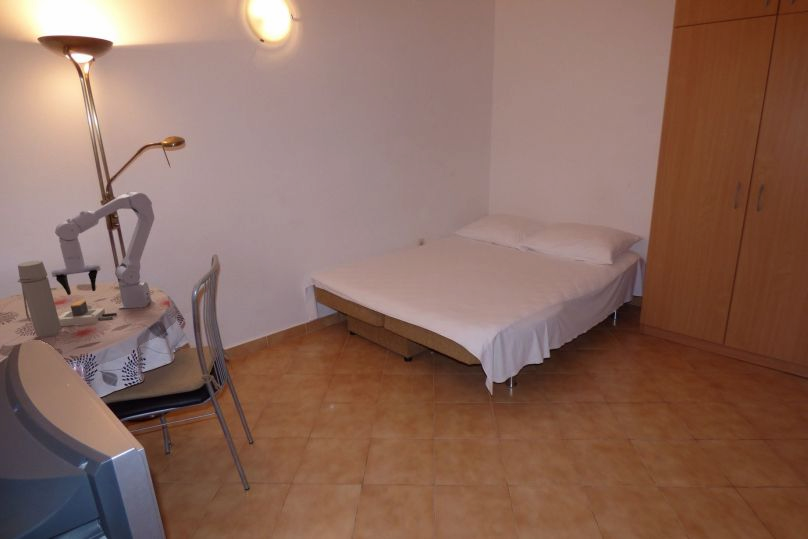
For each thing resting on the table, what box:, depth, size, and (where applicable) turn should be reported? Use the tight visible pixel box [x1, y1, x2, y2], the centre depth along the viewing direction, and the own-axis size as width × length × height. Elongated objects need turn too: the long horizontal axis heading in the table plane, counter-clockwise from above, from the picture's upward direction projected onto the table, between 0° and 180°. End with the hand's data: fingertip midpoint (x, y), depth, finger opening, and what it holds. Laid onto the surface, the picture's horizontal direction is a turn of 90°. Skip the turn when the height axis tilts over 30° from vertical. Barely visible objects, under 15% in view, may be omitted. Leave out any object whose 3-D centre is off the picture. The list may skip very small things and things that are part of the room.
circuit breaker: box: [58, 308, 106, 327], centre depth 175 cm, size 13×8×3 cm, turn 99°
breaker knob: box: [70, 300, 89, 316], centre depth 174 cm, size 3×4×4 cm, turn 9°
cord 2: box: [102, 312, 117, 317], centre depth 178 cm, size 5×1×1 cm, turn 99°
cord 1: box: [98, 316, 114, 321], centre depth 175 cm, size 5×1×1 cm, turn 99°
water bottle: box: [17, 260, 62, 339], centre depth 161 cm, size 9×8×25 cm
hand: (81, 292), depth 176 cm, fingers open, 7 cm apart
